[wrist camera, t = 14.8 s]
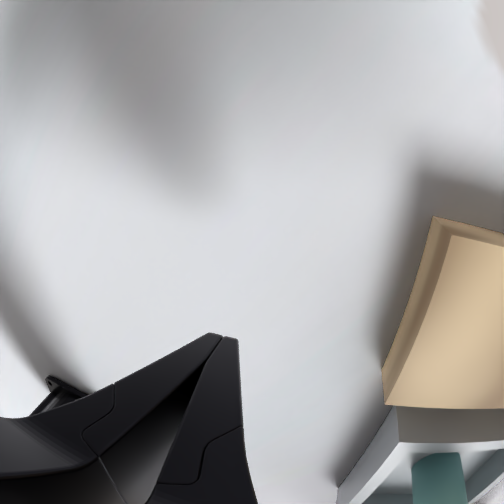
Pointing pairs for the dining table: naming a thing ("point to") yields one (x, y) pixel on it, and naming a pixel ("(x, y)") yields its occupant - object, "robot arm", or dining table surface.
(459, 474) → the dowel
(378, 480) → the tray
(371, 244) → the dining table surface
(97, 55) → the dining table surface
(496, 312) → the board
